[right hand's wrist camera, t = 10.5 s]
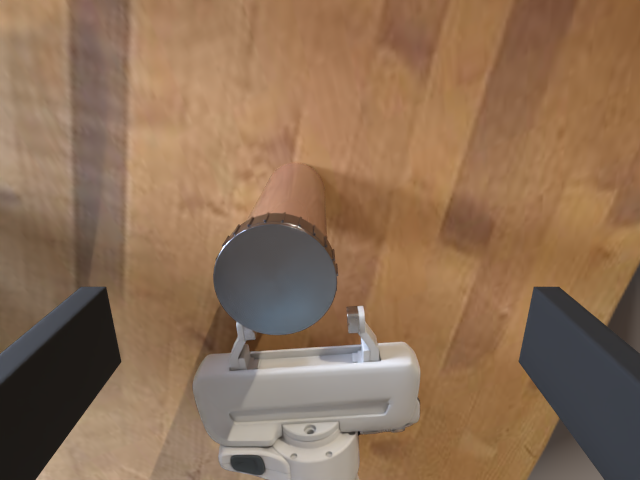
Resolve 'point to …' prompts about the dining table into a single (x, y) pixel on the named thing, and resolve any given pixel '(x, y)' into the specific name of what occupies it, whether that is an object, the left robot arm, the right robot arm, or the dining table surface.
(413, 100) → the dining table surface
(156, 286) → the dining table surface
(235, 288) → the lid
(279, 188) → the brown cylinder
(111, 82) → the dining table surface
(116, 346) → the right robot arm
